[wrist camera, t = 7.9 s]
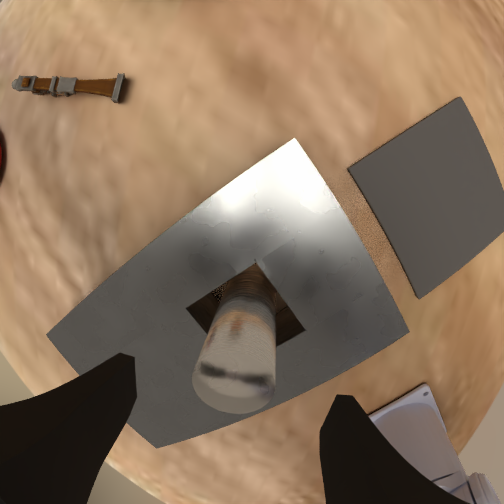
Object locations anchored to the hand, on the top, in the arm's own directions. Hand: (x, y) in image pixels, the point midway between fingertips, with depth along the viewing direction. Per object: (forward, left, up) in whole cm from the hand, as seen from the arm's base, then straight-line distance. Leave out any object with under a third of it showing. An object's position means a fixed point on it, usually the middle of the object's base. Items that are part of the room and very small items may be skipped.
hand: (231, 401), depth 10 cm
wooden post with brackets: (+18, +2, -10) cm, 21 cm away
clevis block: (0, +3, -10) cm, 10 cm away
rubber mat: (-2, -14, -10) cm, 17 cm away
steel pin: (0, 0, -10) cm, 10 cm away
